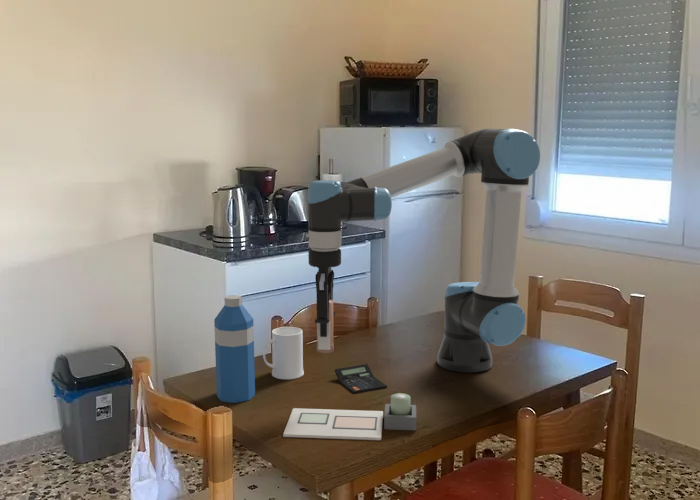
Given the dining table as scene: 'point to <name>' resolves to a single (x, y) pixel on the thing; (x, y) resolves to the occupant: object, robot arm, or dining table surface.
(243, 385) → the water bottle
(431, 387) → the dining table surface
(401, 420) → the button housing
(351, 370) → the calculator
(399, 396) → the button
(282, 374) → the mug
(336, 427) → the picture sheet
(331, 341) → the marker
